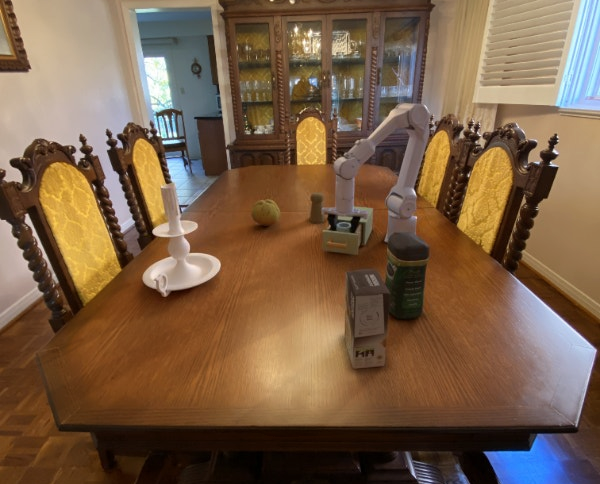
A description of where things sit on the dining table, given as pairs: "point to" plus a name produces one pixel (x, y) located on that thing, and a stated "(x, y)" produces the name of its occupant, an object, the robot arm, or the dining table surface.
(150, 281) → the candlestick
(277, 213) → the fruit
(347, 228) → the jar
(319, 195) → the cork
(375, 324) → the coffee box
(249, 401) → the dining table surface
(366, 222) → the cabinet
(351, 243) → the drawer
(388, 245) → the coffee jar
